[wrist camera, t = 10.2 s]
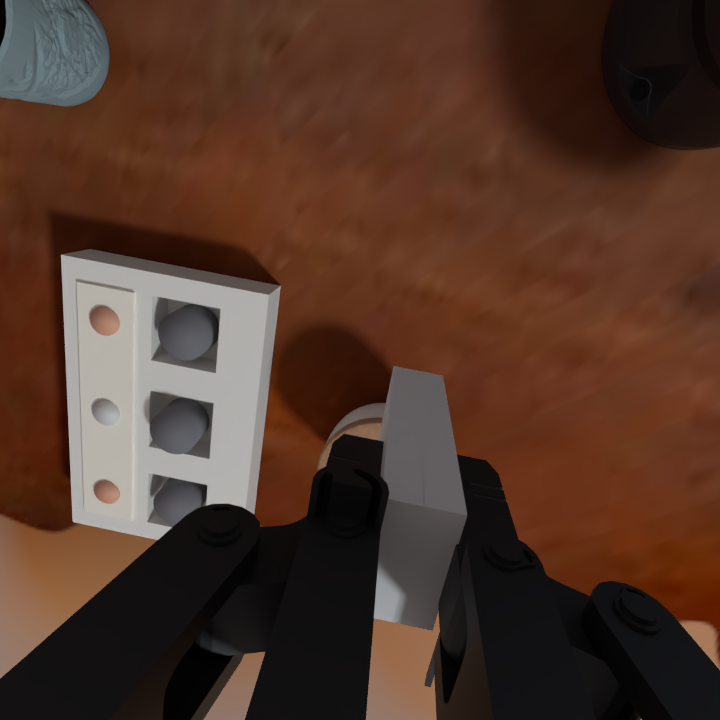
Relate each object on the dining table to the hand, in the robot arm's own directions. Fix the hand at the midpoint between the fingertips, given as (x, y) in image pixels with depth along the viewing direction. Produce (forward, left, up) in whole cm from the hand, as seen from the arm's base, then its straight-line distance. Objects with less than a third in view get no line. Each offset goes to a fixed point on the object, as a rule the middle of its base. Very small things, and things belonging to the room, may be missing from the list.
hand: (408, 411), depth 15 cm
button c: (+18, +27, -28) cm, 43 cm away
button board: (+20, +18, -29) cm, 40 cm away
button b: (+18, +18, -27) cm, 37 cm away
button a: (+18, +9, -28) cm, 34 cm away
